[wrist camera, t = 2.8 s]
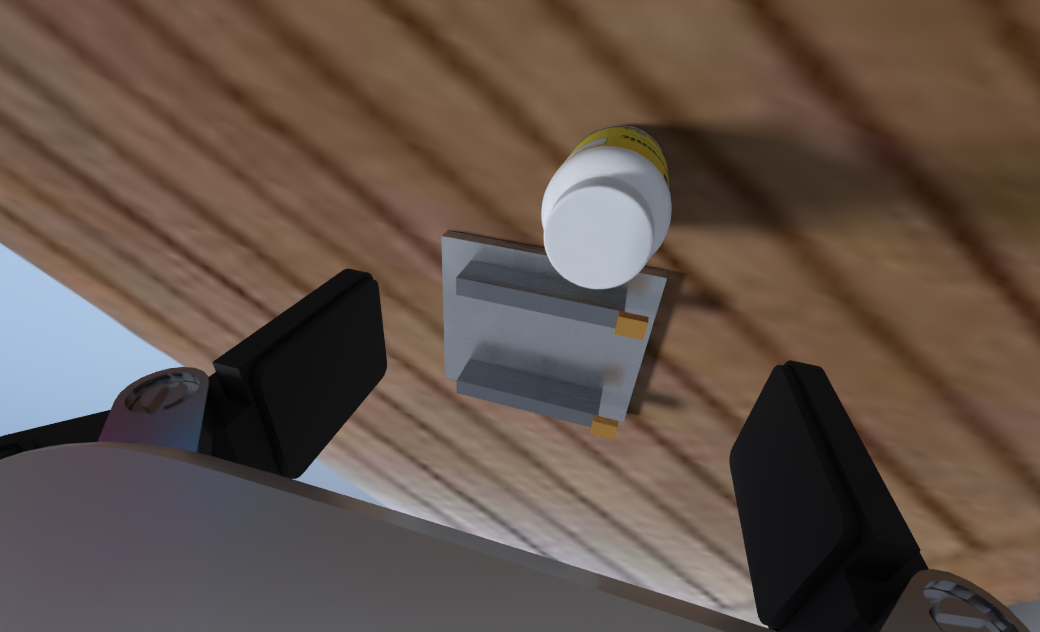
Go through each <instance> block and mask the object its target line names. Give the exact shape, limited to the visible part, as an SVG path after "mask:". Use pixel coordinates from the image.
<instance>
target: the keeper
mask: <svg viewBox="0 0 1040 632" xmlns="http://www.w3.org/2000/svg"><path fill="white" fill-rule="evenodd" d="M442 270H443V310H444V349H445V378H448V379H452V380H456V381H457V393H460V394H463V395H467V396H471V397H475V398H479V399H483V400H487V401H491V402H495V403H499V404H503V405H506V406H510V407H514V408H518V409H522V410H526V411H530V412H534V413H538V414H542V415H546V416H550V417H553V418H557V419H561V420H565V421H569V422H573V423H577V424H581V425H585V426H589V427H591V429H590V434H593V435H597V436H601V437H605V438H609V439H612V440H614V437H615V434H616V431H617V427H618V421H620V422H624V418H625V415H626V412H627V409H628V405H629V402H630V399H631V395H632V392H633V389H634V386H635V382H636V379H637V376H638V372H639V369H640V366H641V362H642V359H643V356H644V353H645V349H646V346H647V343H648V339H649V336H650V333H651V330H652V326H653V323H654V320H655V316H656V313H657V310H658V307H659V303H660V300H661V297H662V293H663V290H664V287H665V284H666V280H667V271H665V270H660V269H654V268H649V267H643V269H642V270H641V271H640V272H639V273H638V274H637V275H636V276H635V277H634V278H632V279H631V280H629V281H627V282H626V283H624V284H622V285H619V286H616V287H613V288H607V289H590V288H585V287H582V286H579V285H576V284H574V283H572V282H570V281H569V280H567V279H566V278H564V277H563V276H562V275H561V274H560V273H559V272H557V270H556V269H555V268H554V267H553V265H552V264H551V262H550V260H549V258H548V256H547V253H546V250H545V248H541V247H535V246H530V245H524V244H519V243H514V242H508V241H503V240H497V239H492V238H486V237H481V236H476V235H470V234H465V233H459V232H454V231H449V230H448V231H447V232H446V233H444V234H443V235H442Z"/></svg>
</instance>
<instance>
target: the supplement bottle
mask: <svg viewBox="0 0 1040 632" xmlns="http://www.w3.org/2000/svg"><path fill="white" fill-rule="evenodd" d="M671 211H672V201H671V193H670V184H669V171H668V166H667V162H666V158H665V156H664V153H663V151H662V149H661V148H660V146H659V145H658V143H657V142H656V141H655V140H654V139H653V138H652V137H651V136H650V135H648V134H647V133H646V132H644V131H642V130H640V129H637V128H635V127H631V126H625V125H615V126H609V127H606V128H602V129H600V130H597V131H595V132H594V133H592V134H590V135H589V136H588V137H586V138H585V139H584V140H583V141H582V142H581V143H580V144H579V145H578V146H577V147H576V148H575V150H574V151H573V152H572V153H571V154H570V156H569V157H568V158H567V159H566V161H565V162H564V163H563V164H562V165H561V167H560V168H559V169H558V170H557V172H556V173H555V174H554V176H553V177H552V179H551V181H550V183H549V185H548V187H547V189H546V191H545V194H544V198H543V202H542V212H541V215H542V225H543V229H544V246H545V250H546V253H547V256H548V258H549V260H550V262H551V264H552V265H553V267H554V268H555V269H556V270H557V272H559V273H560V274H561V275H562V276H563V277H564V278H566V279H567V280H569V281H570V282H572V283H574V284H576V285H579V286H582V287H585V288H590V289H607V288H613V287H616V286H619V285H622V284H624V283H626V282H627V281H629V280H631V279H632V278H634V277H635V276H636V275H637V274H638V273H639V272H640V271H641V270H642V269H643V267H644V266H645V265H646V263H647V261H648V259H649V258H650V257H651V256H652V255H653V254H654V253H655V252H656V251H657V250H658V248H659V247H660V246H661V244H662V242H663V241H664V239H665V237H666V235H667V232H668V229H669V226H670V221H671V213H672V212H671Z"/></svg>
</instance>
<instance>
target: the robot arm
mask: <svg viewBox="0 0 1040 632" xmlns="http://www.w3.org/2000/svg"><path fill="white" fill-rule="evenodd" d="M212 363H213V365H214V368H215V370H216V372H215V373H214V374H212V375H211V376H210V377H208V376H207V375H206V373H205V372H204V371H202V370H199V369H196V368H189V367H179V368H170V369H166V370H162V371H158V372H155V373H152V374H150V375H147V376H145V377H142V378H140V379H139V380H137V381H135V382H133V383H132V384H130V385H129V386H127V387H126V388H125V389H124V390H123V391H122V392H120V394H119V395H118V397H117V398H116V400H115V401H114V403H113V406H112V408H111V410H108V411H104V412H100V413H96V414H91V415H87V416H83V417H79V418H75V419H70V420H66V421H62V422H58V423H54V424H50V425H46V426H41V427H37V428H33V429H29V430H25V431H21V432H17V433H13V434H8V435H4V436H1V437H0V632H1030V631H1029V630H1028V628H1027V627H1026V626H1025V625H1024V624H1023V623H1022V622H1021V621H1020V620H1019V619H1018V618H1017V617H1016V616H1015V615H1014V614H1013V613H1012V612H1011V611H1010V610H1009V609H1008V608H1007V607H1006V606H1005V605H1003V604H1002V603H1001V602H999V601H998V600H997V599H996V598H994V597H993V596H992V595H991V594H989V593H988V592H986V591H985V590H983V589H981V588H980V587H978V586H977V585H975V584H973V583H972V582H970V581H968V580H966V579H964V578H961V577H959V576H957V575H954V574H952V573H950V572H945V571H940V570H935V569H930V570H929V569H928V567H927V565H926V563H925V561H924V559H923V557H922V556H921V554H920V551H921V550H920V548H919V546H918V544H917V543H916V541H915V539H914V537H913V535H912V533H911V531H910V530H909V528H908V526H907V524H906V522H905V520H904V518H903V517H902V515H901V513H900V511H899V509H898V507H897V505H896V504H895V502H894V500H893V498H892V496H891V494H890V492H889V491H888V489H887V487H886V485H885V483H884V481H883V480H882V478H881V476H880V474H879V472H878V470H877V468H876V467H875V465H874V463H873V461H872V459H871V457H870V455H869V454H868V452H867V450H866V448H865V446H864V444H863V442H862V441H861V439H860V437H859V435H858V433H857V431H856V429H855V428H854V426H853V424H852V422H851V420H850V418H849V416H848V415H847V413H846V411H845V409H844V407H843V405H842V403H841V402H840V400H839V398H838V396H837V394H836V392H835V390H834V389H833V387H832V385H831V383H830V381H829V379H828V377H827V376H826V374H825V372H824V370H823V369H822V368H821V367H819V366H815V365H810V364H806V363H801V362H796V361H791V360H790V361H787V362H786V363H785V364H784V366H782V365H776V366H775V367H774V369H773V370H772V372H771V374H770V376H769V378H768V380H767V382H766V384H765V386H764V388H763V390H762V391H761V393H760V395H759V397H758V399H757V401H756V403H755V405H754V407H753V409H752V411H751V413H750V415H749V417H748V418H747V420H746V422H745V424H744V426H743V428H742V430H741V432H740V434H739V436H738V438H737V440H736V442H735V443H734V445H733V447H732V450H731V453H730V469H731V475H732V480H733V485H734V491H735V496H736V501H737V507H738V512H739V517H740V523H741V528H742V533H743V539H744V544H745V549H746V555H747V560H748V565H749V571H750V576H751V581H752V587H753V592H754V598H755V603H756V608H757V613H758V617H759V619H760V621H761V622H762V624H764V625H768V628H769V629H768V628H765V627H762V626H759V625H756V624H753V623H750V622H747V621H744V620H741V619H738V618H735V617H732V616H729V615H726V614H723V613H720V612H717V611H714V610H711V609H708V608H705V607H702V606H698V605H695V604H692V603H689V602H686V601H683V600H680V599H676V598H673V597H670V596H667V595H664V594H661V593H657V592H654V591H651V590H648V589H645V588H642V587H638V586H635V585H632V584H629V583H626V582H623V581H619V580H616V579H613V578H610V577H607V576H604V575H600V574H597V573H594V572H591V571H588V570H585V569H581V568H578V567H575V566H572V565H569V564H566V563H562V562H559V561H556V560H553V559H550V558H546V557H543V556H540V555H537V554H534V553H530V552H527V551H524V550H521V549H517V548H514V547H511V546H508V545H505V544H501V543H498V542H495V541H492V540H489V539H485V538H482V537H479V536H476V535H472V534H469V533H466V532H463V531H459V530H456V529H453V528H450V527H447V526H443V525H440V524H437V523H434V522H430V521H427V520H424V519H421V518H417V517H414V516H411V515H408V514H404V513H401V512H398V511H395V510H391V509H388V508H385V507H381V506H378V505H375V504H372V503H368V502H365V501H362V500H358V499H355V498H352V497H349V496H345V495H342V494H339V493H336V492H332V491H329V490H326V489H322V488H319V487H316V486H312V485H309V484H305V483H302V482H299V481H296V480H293V479H296V478H298V477H300V476H301V475H302V474H303V473H304V472H305V470H306V469H307V468H308V467H309V465H310V464H311V463H312V462H313V461H314V460H315V458H316V457H317V456H318V455H319V454H320V452H321V451H322V450H323V449H324V448H325V446H326V445H327V444H328V443H329V442H330V440H331V439H332V438H333V437H334V436H335V434H336V433H337V432H338V431H339V430H340V428H341V427H342V426H343V425H344V424H345V422H346V421H347V420H348V419H349V418H350V416H351V415H352V414H353V413H354V412H355V410H356V409H357V408H358V407H359V406H360V404H361V403H362V402H363V401H364V400H365V398H366V397H367V396H368V395H369V394H370V392H371V391H372V390H373V389H374V387H375V386H376V385H377V384H378V383H379V381H380V380H381V379H382V378H383V376H384V375H385V372H386V369H387V358H386V349H385V340H384V331H383V322H382V313H381V304H380V295H379V286H378V283H377V281H376V280H373V277H372V275H371V274H370V273H367V272H362V271H357V270H353V269H345V270H343V271H341V272H340V273H339V274H337V275H336V276H334V277H333V278H331V279H330V280H329V281H327V282H326V283H324V284H323V285H321V286H320V287H319V288H317V289H316V290H314V291H313V292H312V293H310V294H309V295H307V296H306V297H304V298H303V299H302V300H300V301H299V302H297V303H296V304H294V305H293V306H292V307H290V308H289V309H287V310H286V311H284V312H283V313H282V314H280V315H279V316H277V317H276V318H275V319H273V320H272V321H270V322H269V323H267V324H266V325H265V326H263V327H262V328H260V329H259V330H257V331H256V332H255V333H253V334H252V335H250V336H249V337H247V338H246V339H245V340H243V341H242V342H240V343H239V344H238V345H236V346H235V347H233V348H232V349H230V350H229V351H228V352H226V353H225V354H223V355H222V356H220V357H219V358H218V359H216V360H215V361H213V362H212Z"/></svg>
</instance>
